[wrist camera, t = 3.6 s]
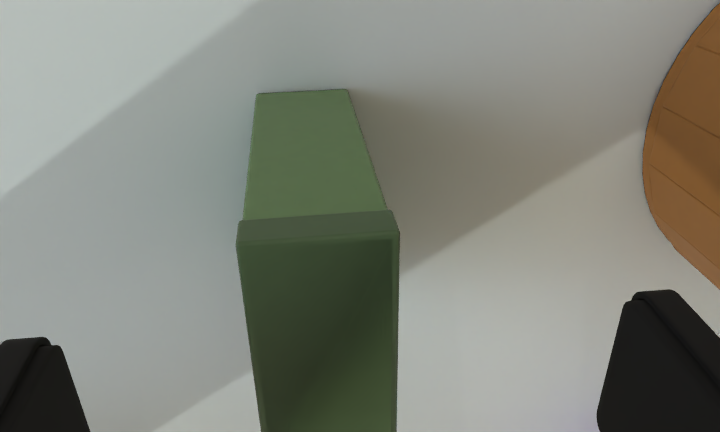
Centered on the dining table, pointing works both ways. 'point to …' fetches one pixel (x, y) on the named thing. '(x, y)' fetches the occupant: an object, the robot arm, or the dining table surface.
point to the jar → (688, 151)
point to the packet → (318, 269)
